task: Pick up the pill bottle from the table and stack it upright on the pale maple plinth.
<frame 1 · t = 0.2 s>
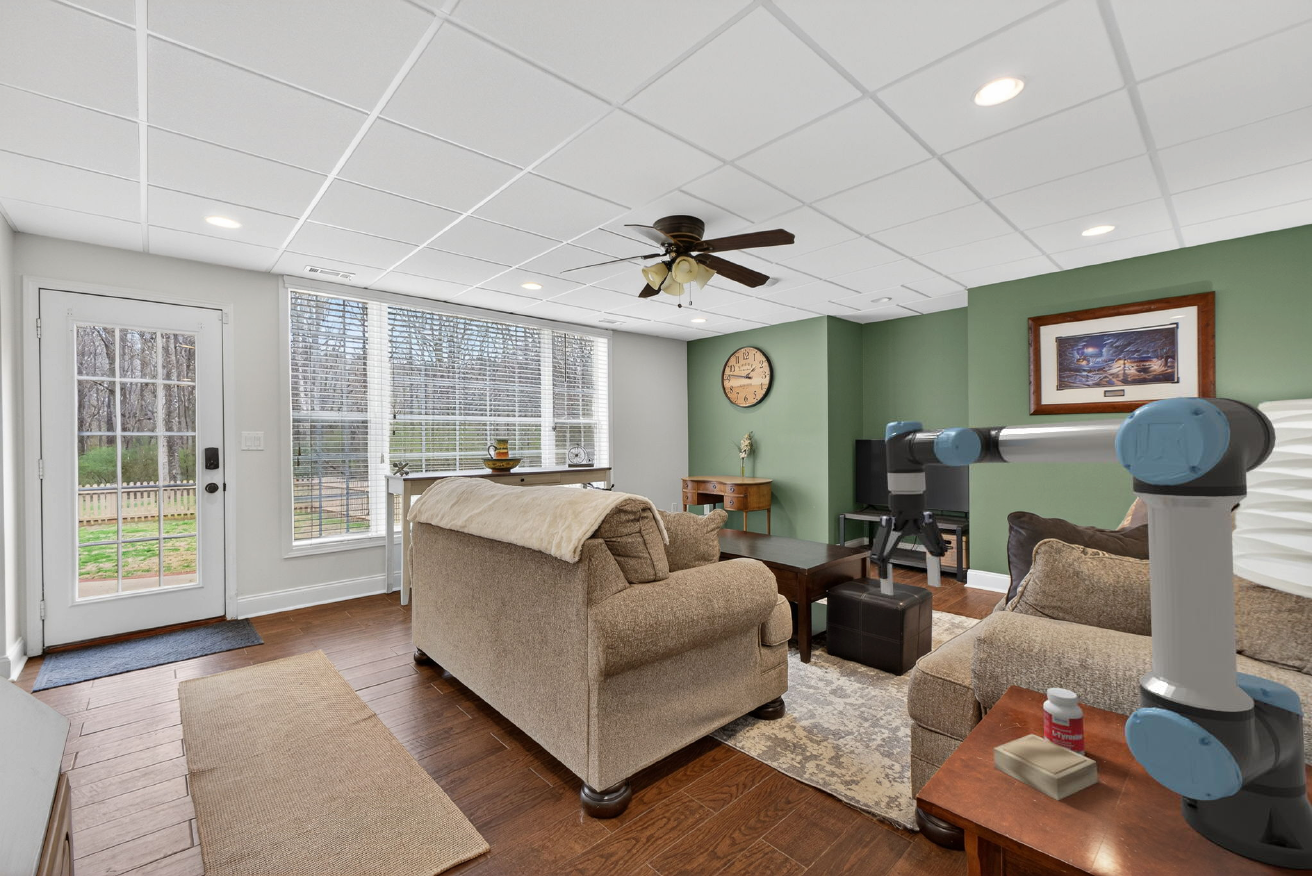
hand: (911, 589, 124), 28 cm above the table, fingers open, 13 cm apart
pill bottle: (1064, 752, 109), on the table
maple plinth: (1044, 774, 101), on the table
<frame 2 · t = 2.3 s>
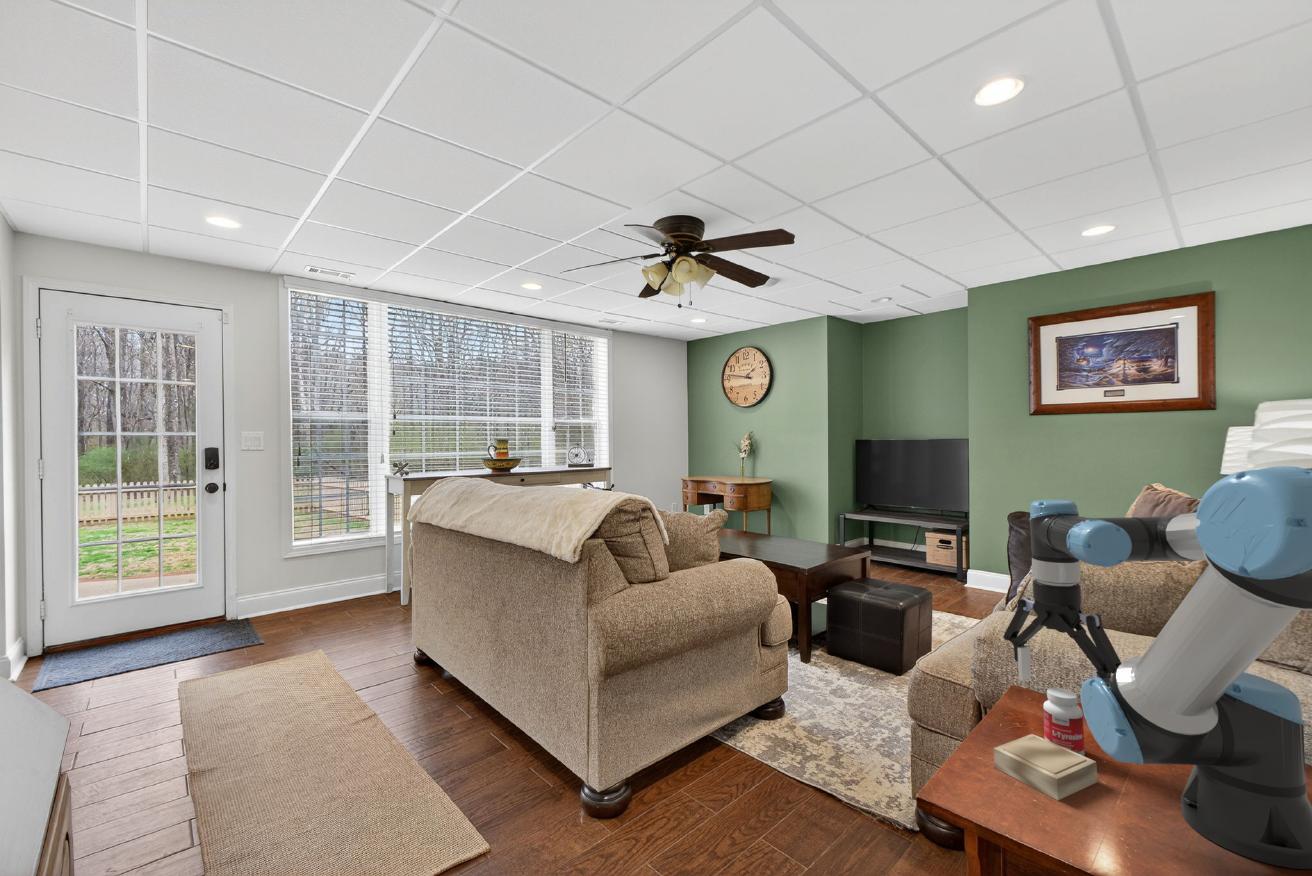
hand: (1060, 692, 109), 11 cm above the table, fingers open, 13 cm apart
nothing on the table moved.
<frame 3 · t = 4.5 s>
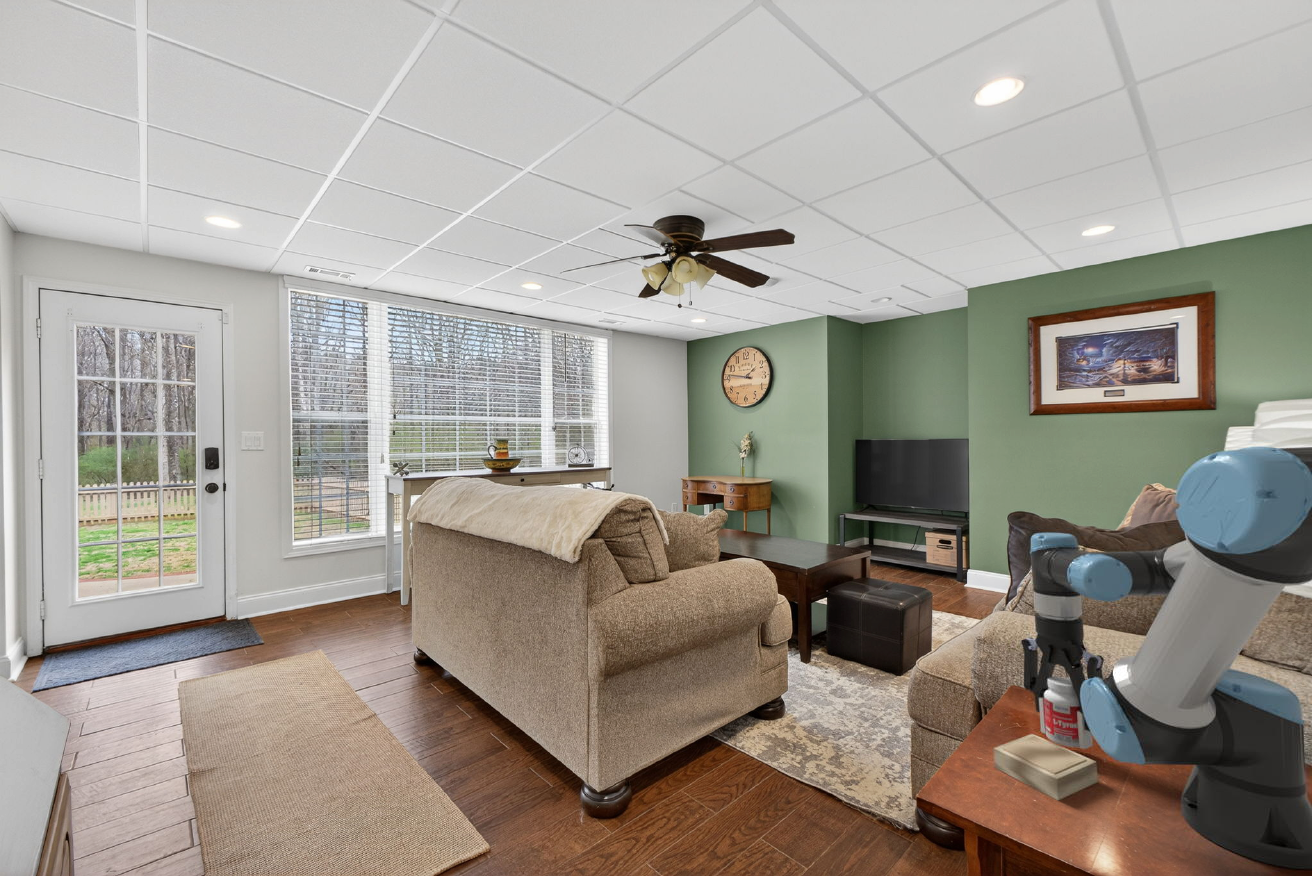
hand: (1066, 738, 108), 3 cm above the table, fingers closed on pill bottle, 6 cm apart
pill bottle: (1066, 741, 108), point 2 cm above the table, touching gripper
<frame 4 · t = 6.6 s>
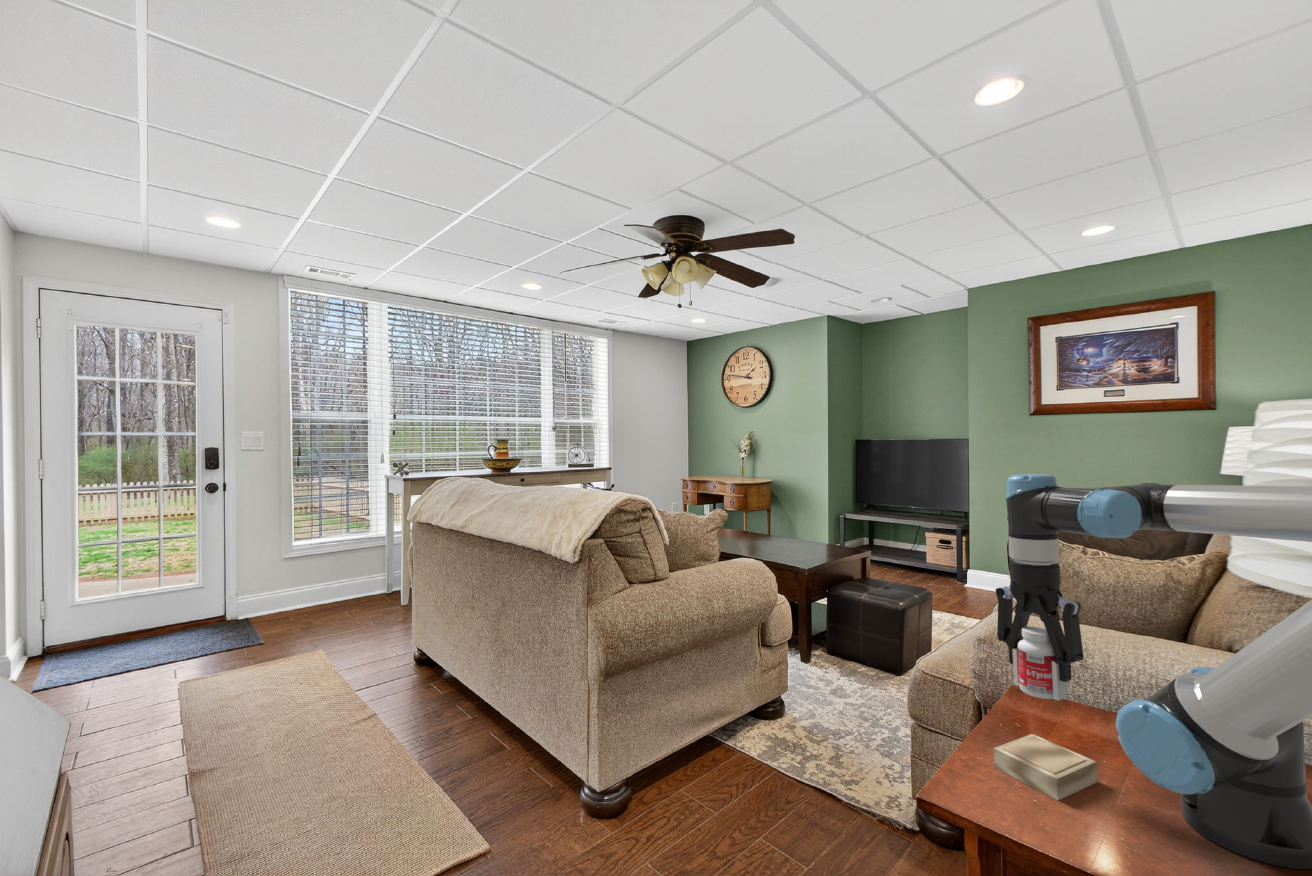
hand: (1040, 690, 102), 15 cm above the table, fingers closed on pill bottle, 6 cm apart
pill bottle: (1040, 693, 102), point 14 cm above the table, touching gripper
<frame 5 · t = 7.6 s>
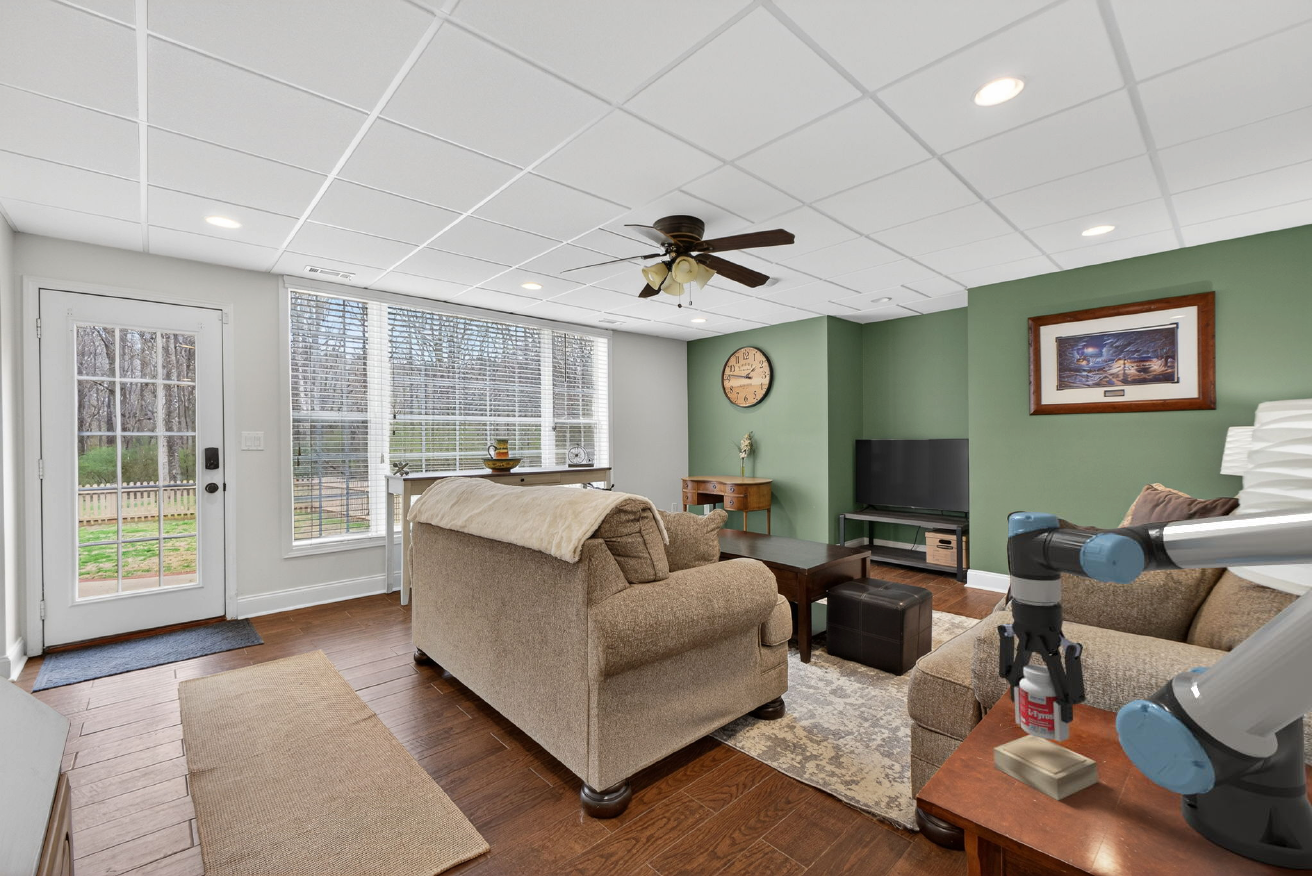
hand: (1041, 729, 102), 8 cm above the table, fingers closed on pill bottle, 6 cm apart
pill bottle: (1041, 733, 102), point 7 cm above the table, touching gripper
when the fingers open (5 cm above the table, at t = 8.5 s): pill bottle drops 1 cm, resting on maple plinth.
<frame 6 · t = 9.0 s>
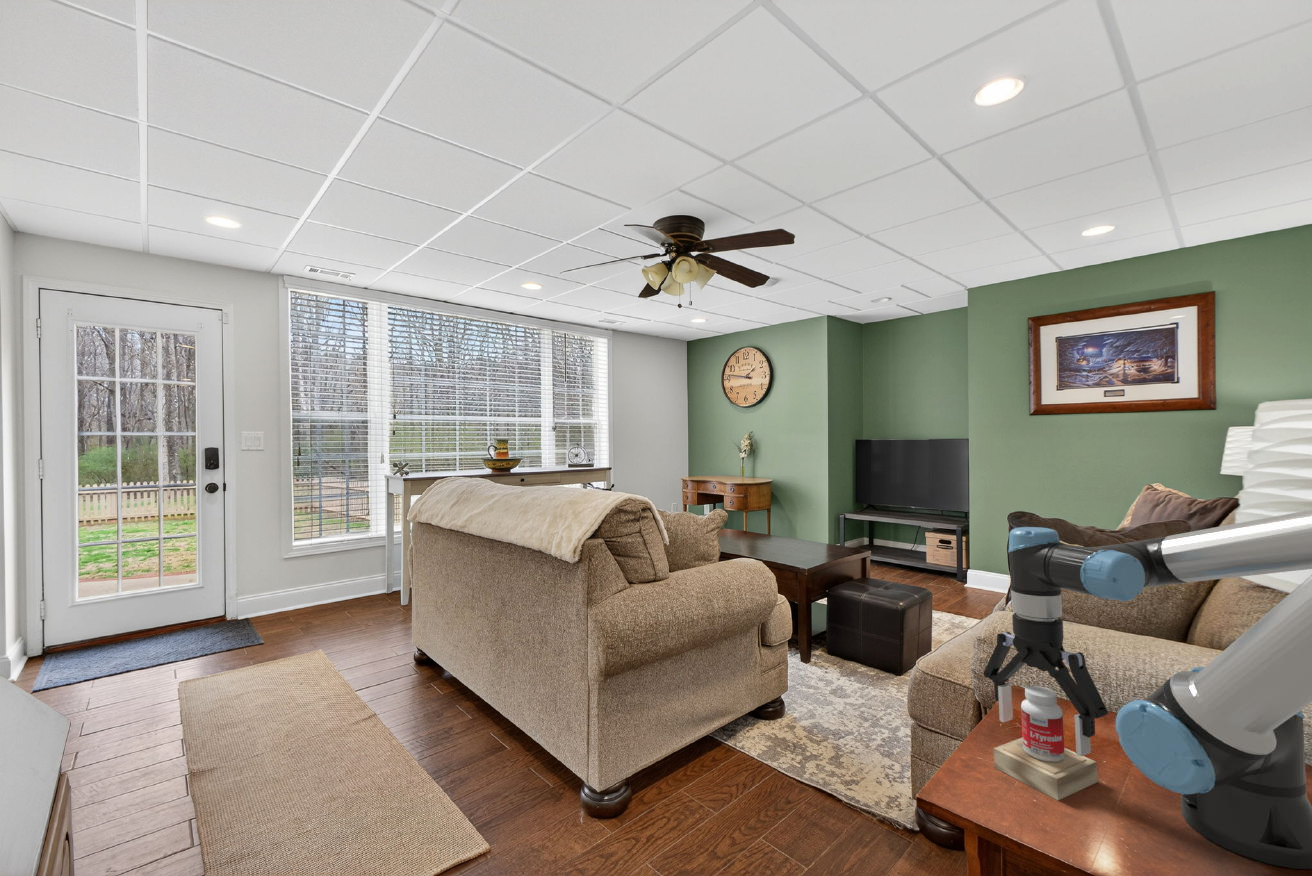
hand: (1042, 736, 101), 7 cm above the table, fingers open, 13 cm apart
pill bottle: (1043, 755, 101), point 4 cm above the table, touching maple plinth
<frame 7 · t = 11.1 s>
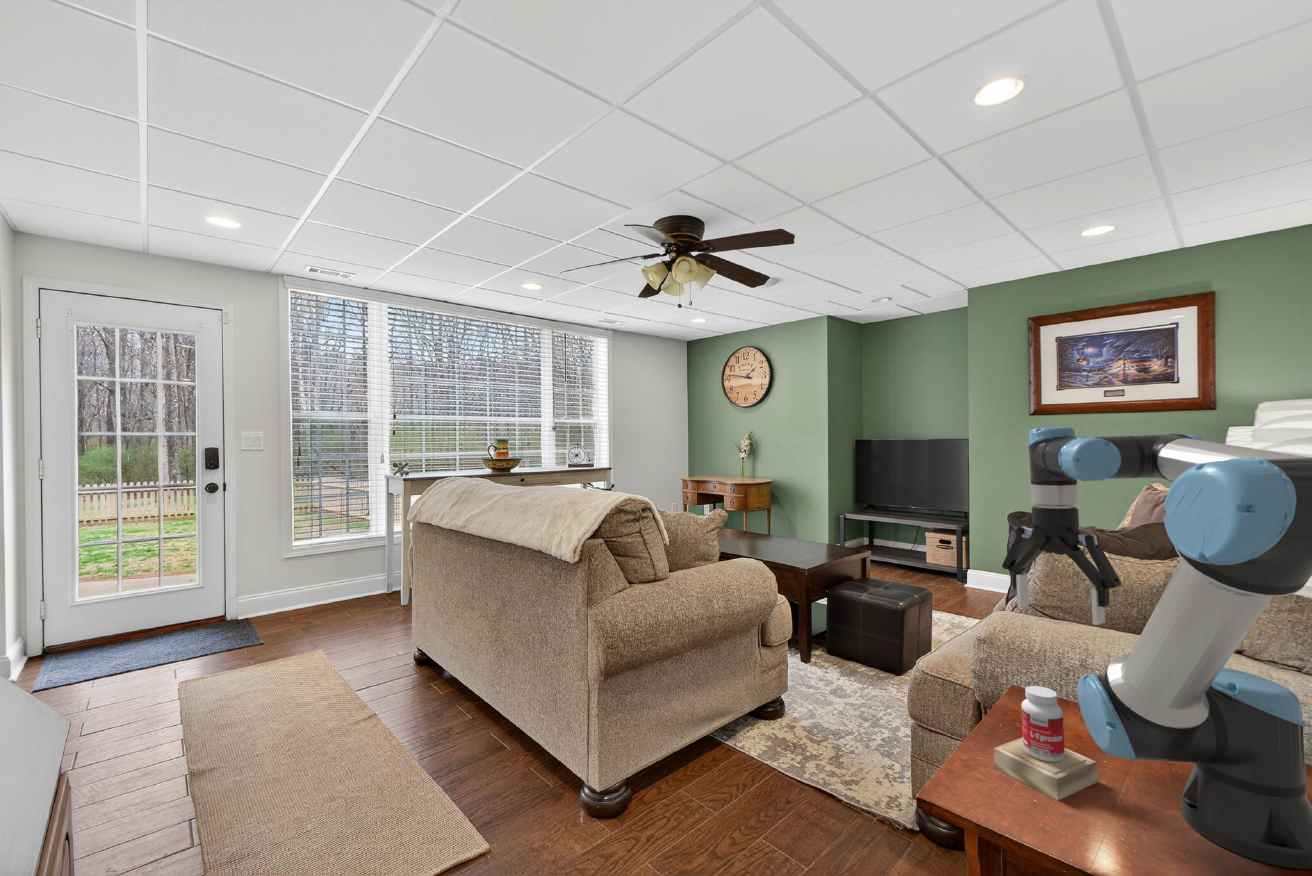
hand: (1059, 614, 112), 25 cm above the table, fingers open, 13 cm apart
nothing on the table moved.
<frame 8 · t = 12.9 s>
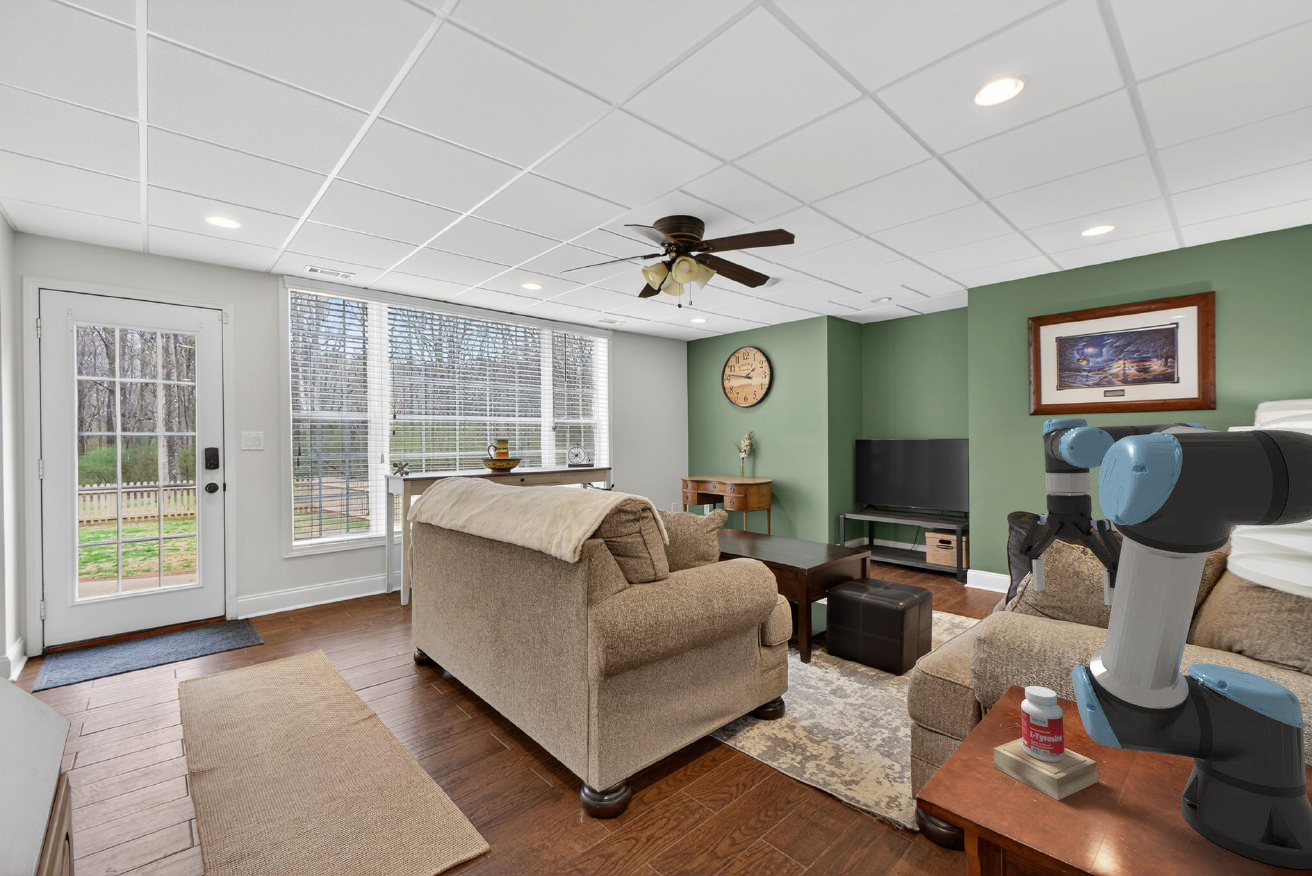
hand: (1073, 596, 118), 27 cm above the table, fingers open, 13 cm apart
nothing on the table moved.
at the end: pill bottle inside the target area on the maple plinth (0.1 cm from its centre), point 3.5 cm above the maple plinth's base; pill bottle tilted 0°; pill bottle touching maple plinth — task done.
